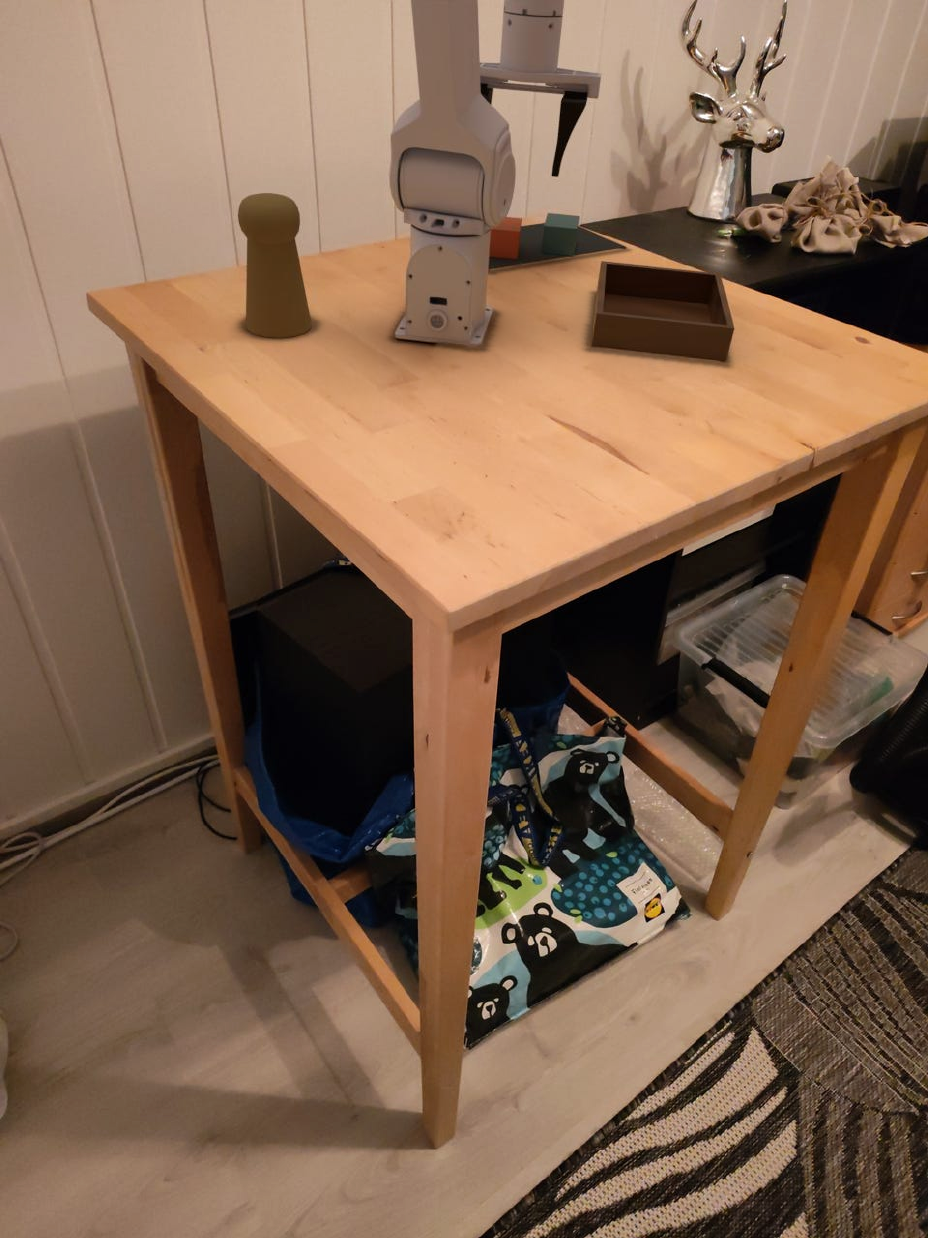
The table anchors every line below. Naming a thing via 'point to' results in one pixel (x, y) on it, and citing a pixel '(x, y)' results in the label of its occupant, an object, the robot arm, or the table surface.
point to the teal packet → (560, 234)
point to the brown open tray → (662, 311)
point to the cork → (273, 267)
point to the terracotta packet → (506, 239)
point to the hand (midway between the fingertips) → (519, 170)
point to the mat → (532, 253)
